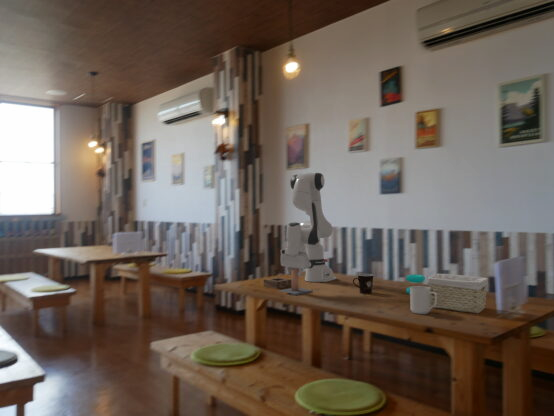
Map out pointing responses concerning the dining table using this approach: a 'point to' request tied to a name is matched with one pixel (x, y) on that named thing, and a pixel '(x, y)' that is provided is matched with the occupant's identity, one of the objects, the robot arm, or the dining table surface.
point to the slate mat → (300, 291)
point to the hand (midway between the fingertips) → (294, 275)
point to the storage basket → (458, 292)
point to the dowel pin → (294, 279)
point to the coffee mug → (365, 283)
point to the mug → (421, 299)
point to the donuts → (414, 280)
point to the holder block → (277, 283)
